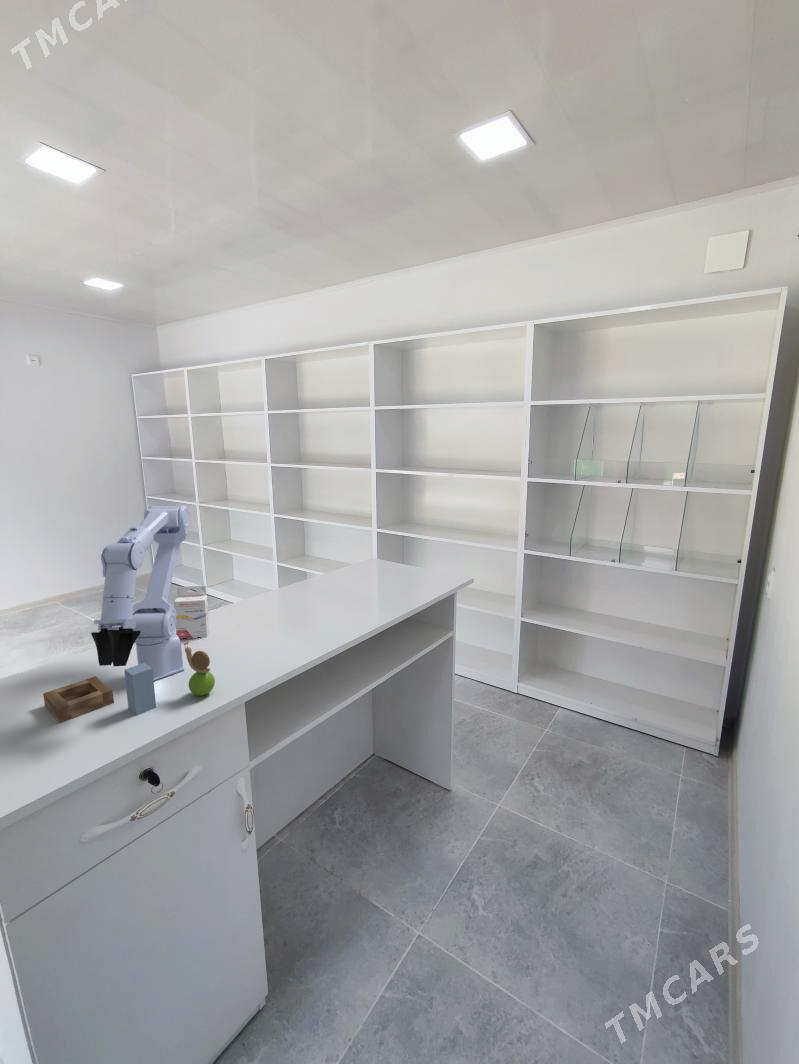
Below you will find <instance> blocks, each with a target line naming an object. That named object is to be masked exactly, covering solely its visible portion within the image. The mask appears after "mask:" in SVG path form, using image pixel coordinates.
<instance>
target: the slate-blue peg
mask: <svg viewBox="0 0 799 1064" xmlns="http://www.w3.org/2000/svg"><path fill="white" fill-rule="evenodd" d="M123 670H124V671H123V672H124V680H125V689H126V700H127V708H128V710H129V711H130V712H132V713H133V714H134V715H135V716H138V715H141V714H143V713H146V712H148V711H152V710H153V709H156V708H157V701H156V693H155V681H154V680H153V669H152V668H151V667H150V666H148V665H147V664H145V663H142V664H139V665H138V664H137V665H133V666H130V667H128V668H124V669H123Z"/></svg>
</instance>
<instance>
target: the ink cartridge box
mask: <svg viewBox="0 0 799 1064" xmlns="http://www.w3.org/2000/svg"><path fill="white" fill-rule="evenodd" d="M191 590H192V591H191ZM194 590H195V591H194ZM176 592H177V597H176V598H175V600H174V602H173V607H174V608H175V610H176V628H175V634H176V635H177V636H178V637H179V639H180V640H184V639H183V638H191V639H198V638H197V637H205V638H208V636H209V633H210V621H209V619H210V618H209V605H208V604H209V603H208V595H207V587H206V585H193V586H192V585H191V586H189V585H188V586H178V587H177V588H176Z"/></svg>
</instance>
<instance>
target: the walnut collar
mask: <svg viewBox="0 0 799 1064" xmlns="http://www.w3.org/2000/svg"><path fill="white" fill-rule="evenodd" d="M42 696H43V701H44V702H43V704H44V707H45V708H46V709H47V710H48V711H49V713H50V714H51V715H52V716H53V717H54V718H55V720H57V721H58V723H59V724H61V723H64V722H66V721H69V720H71V719H75V718H77V717H79V716H80V717H81V716H82V715H86V714H88V713H90V712H94V711H96V710H99V709H102V708H104V707H107V706H110V705H111V704H114V703H115V701H114V700H115V698H114V690H113V689H112V688H111V687H110V686H108V685H107V684H105V682H103V681H102V680H101V679H99V678H98V677H97V676H93V677H89V678H86V679H82V680H79V681H77V682H73V683H71V684H68V685H64V686H61V687H58V688H55V689H53V690H49V691H46V692H43V693H42Z"/></svg>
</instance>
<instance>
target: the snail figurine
mask: <svg viewBox="0 0 799 1064" xmlns="http://www.w3.org/2000/svg"><path fill="white" fill-rule="evenodd" d="M183 645H184V652H185V654H186V659H187V661H188V662H187V663H188V665H189V667H190V669H192V670H193V671H195V673H193V674H192V675H191V676H190V678H189V680H188V689H189V690H190V692H191V693H192V694H193V695H195V696H199V697H202V696H205V695H208V694H209V693H211V692H212V690H213V689H214V687H215V683H216V680H215V677H214V675H213V674H212V672H210V671H211V668H209V666H210V664H211V659H210V657H209V655H208V653H206V652H205V651H202V650H197V651H195V652H194V653H193V654H192V648H191V647H190V646H188V645H189V641H186V642H184V643H183Z"/></svg>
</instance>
